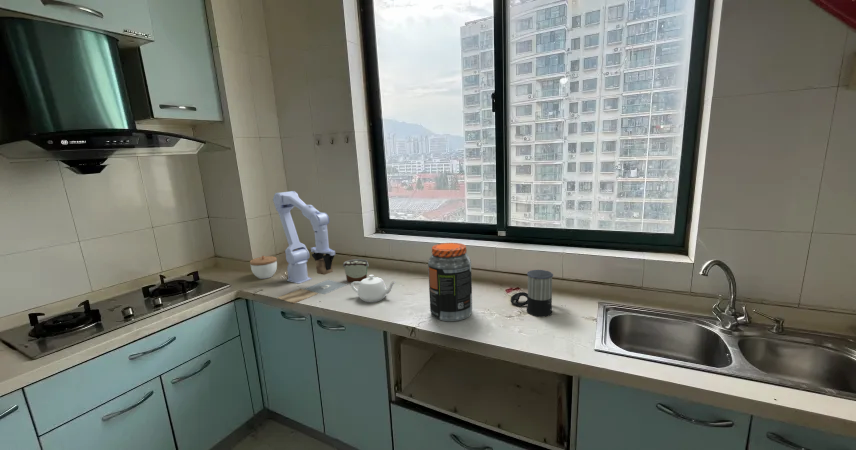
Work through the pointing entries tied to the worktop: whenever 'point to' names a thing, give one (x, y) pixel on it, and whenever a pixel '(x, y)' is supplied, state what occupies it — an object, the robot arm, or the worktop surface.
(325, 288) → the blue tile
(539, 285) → the milk frother
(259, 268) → the lidded bowl
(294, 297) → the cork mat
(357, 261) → the food container
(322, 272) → the walnut block
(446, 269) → the supplement tub
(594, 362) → the worktop surface
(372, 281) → the teapot
